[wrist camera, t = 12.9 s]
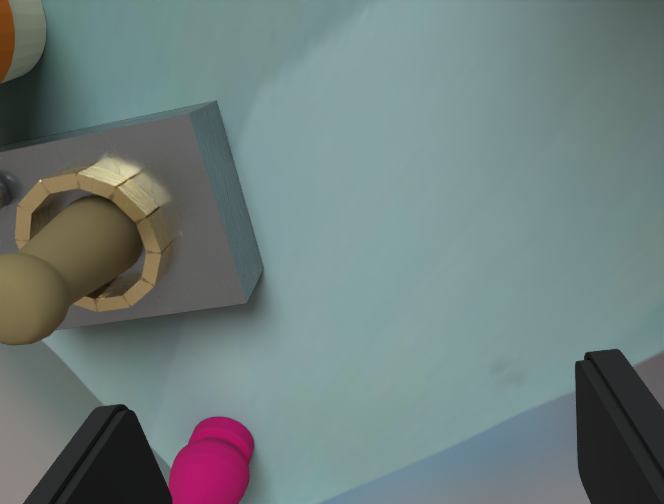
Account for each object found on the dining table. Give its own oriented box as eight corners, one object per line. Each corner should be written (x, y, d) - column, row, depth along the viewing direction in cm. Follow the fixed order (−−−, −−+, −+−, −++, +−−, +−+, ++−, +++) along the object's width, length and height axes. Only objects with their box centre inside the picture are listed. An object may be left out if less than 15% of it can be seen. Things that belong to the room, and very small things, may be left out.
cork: (156, 263, 37) (72, 350, 27) (85, 281, 39) (-20, 372, 29) (118, 185, 35) (13, 250, 25) (45, 208, 36) (-84, 278, 26)
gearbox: (5, 144, 41) (-76, 170, 34) (216, 100, 38) (177, 118, 31) (73, 297, 47) (16, 347, 39) (263, 268, 44) (239, 317, 36)
